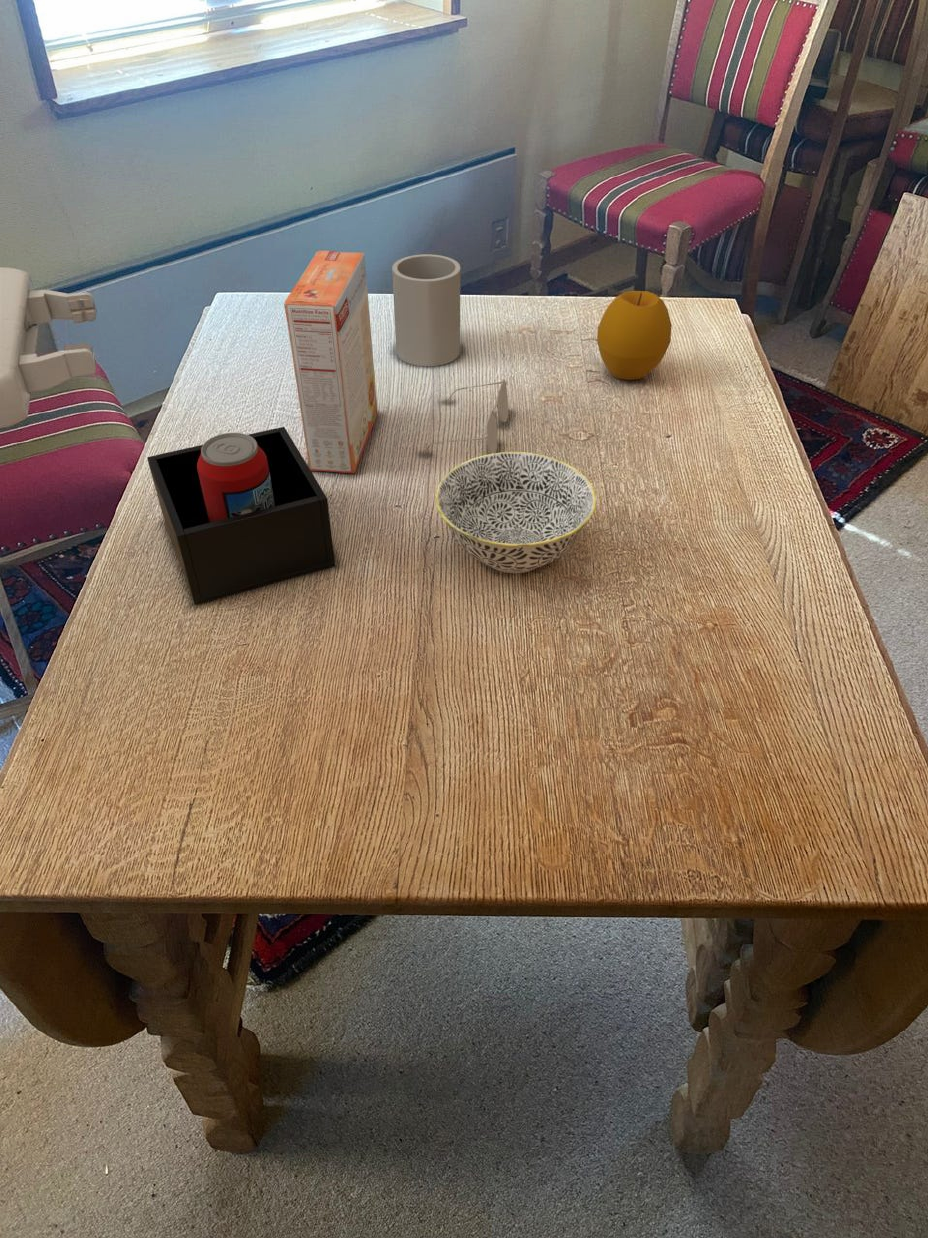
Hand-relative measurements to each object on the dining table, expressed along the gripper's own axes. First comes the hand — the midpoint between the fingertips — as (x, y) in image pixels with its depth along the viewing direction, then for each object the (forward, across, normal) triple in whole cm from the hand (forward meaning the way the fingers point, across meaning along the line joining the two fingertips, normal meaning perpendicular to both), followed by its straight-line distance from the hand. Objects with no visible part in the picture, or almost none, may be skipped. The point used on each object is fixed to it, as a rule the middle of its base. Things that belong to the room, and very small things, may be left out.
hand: (94, 330), depth 68 cm
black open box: (+8, +10, +29) cm, 32 cm away
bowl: (+34, +1, +30) cm, 46 cm away
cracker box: (+22, +28, +29) cm, 46 cm away
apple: (+62, +33, +29) cm, 76 cm away
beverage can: (+8, +10, +29) cm, 31 cm away
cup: (+38, +48, +29) cm, 68 cm away
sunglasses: (+37, +26, +29) cm, 54 cm away
